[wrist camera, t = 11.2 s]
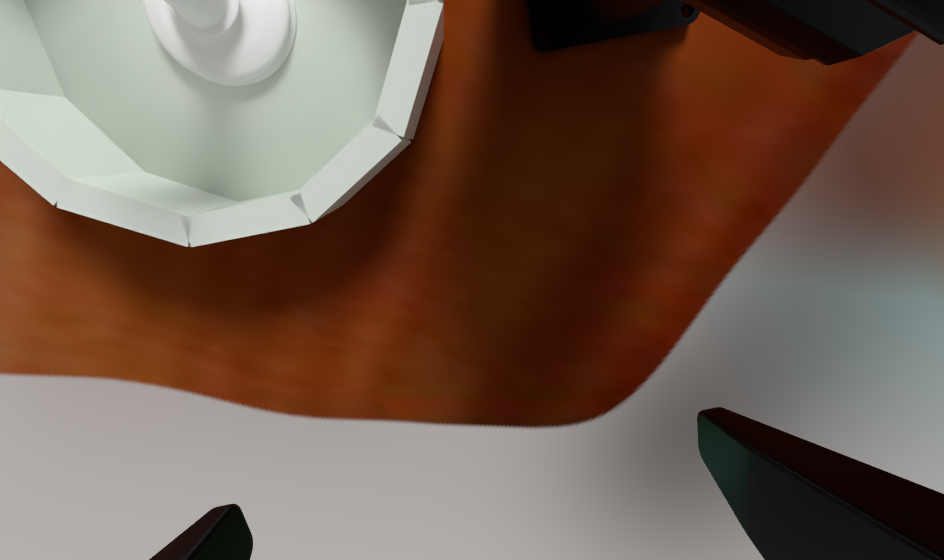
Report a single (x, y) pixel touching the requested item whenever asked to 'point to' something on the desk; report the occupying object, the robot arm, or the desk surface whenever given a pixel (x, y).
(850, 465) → the robot arm
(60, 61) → the bowl
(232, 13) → the chess piece
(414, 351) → the desk surface
